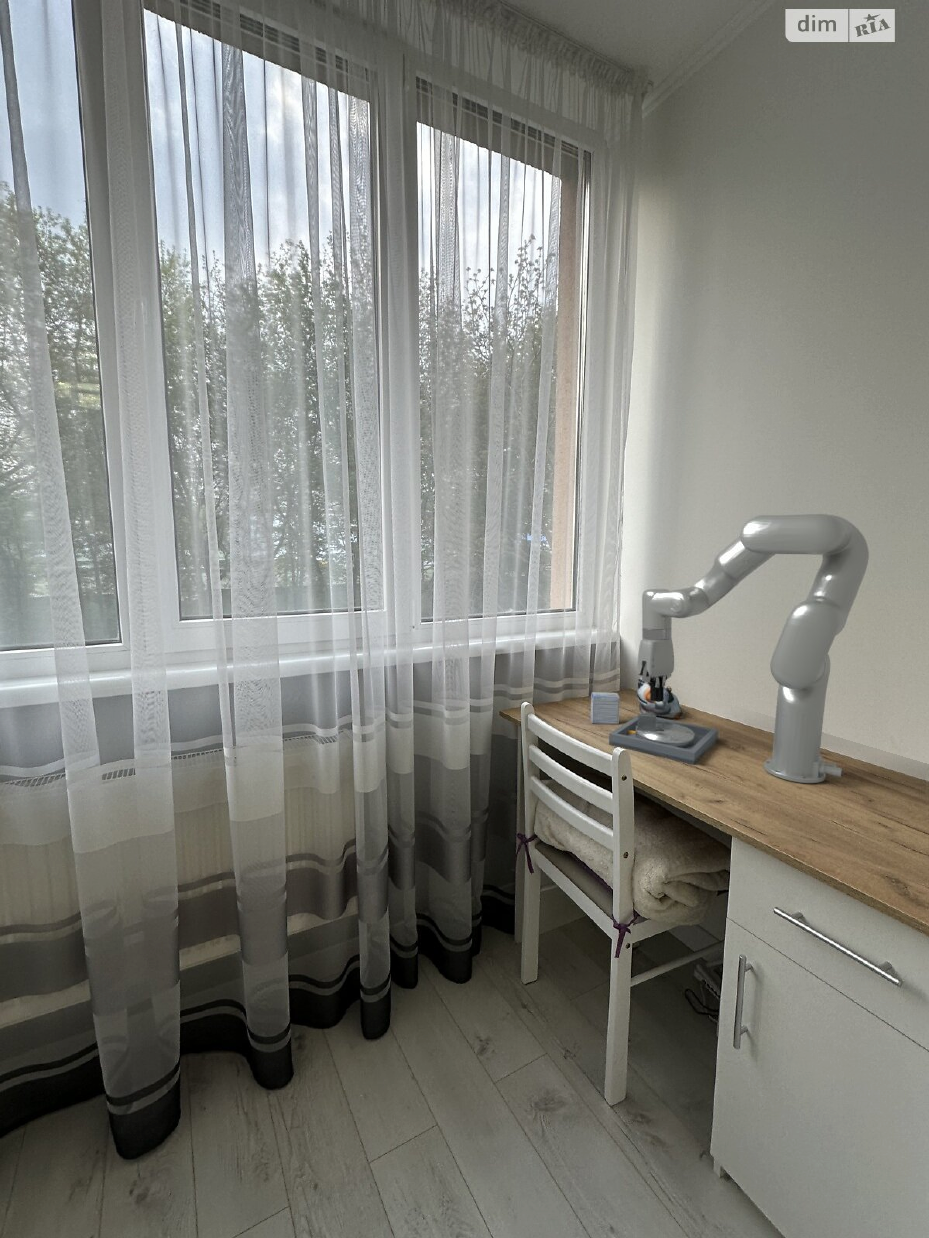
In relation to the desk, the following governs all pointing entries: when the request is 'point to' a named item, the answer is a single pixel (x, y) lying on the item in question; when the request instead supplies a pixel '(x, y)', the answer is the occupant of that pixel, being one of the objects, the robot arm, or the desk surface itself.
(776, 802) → the desk surface
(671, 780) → the desk surface
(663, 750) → the square tray
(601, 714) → the medicine box
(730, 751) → the desk surface
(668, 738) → the dial
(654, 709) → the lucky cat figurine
